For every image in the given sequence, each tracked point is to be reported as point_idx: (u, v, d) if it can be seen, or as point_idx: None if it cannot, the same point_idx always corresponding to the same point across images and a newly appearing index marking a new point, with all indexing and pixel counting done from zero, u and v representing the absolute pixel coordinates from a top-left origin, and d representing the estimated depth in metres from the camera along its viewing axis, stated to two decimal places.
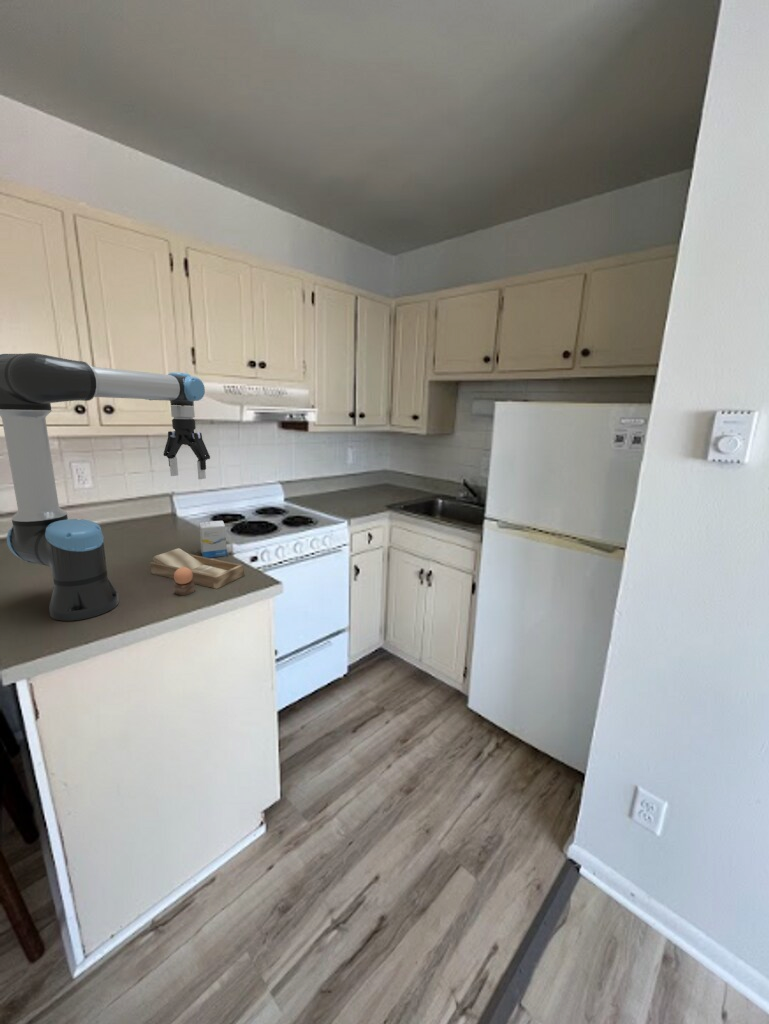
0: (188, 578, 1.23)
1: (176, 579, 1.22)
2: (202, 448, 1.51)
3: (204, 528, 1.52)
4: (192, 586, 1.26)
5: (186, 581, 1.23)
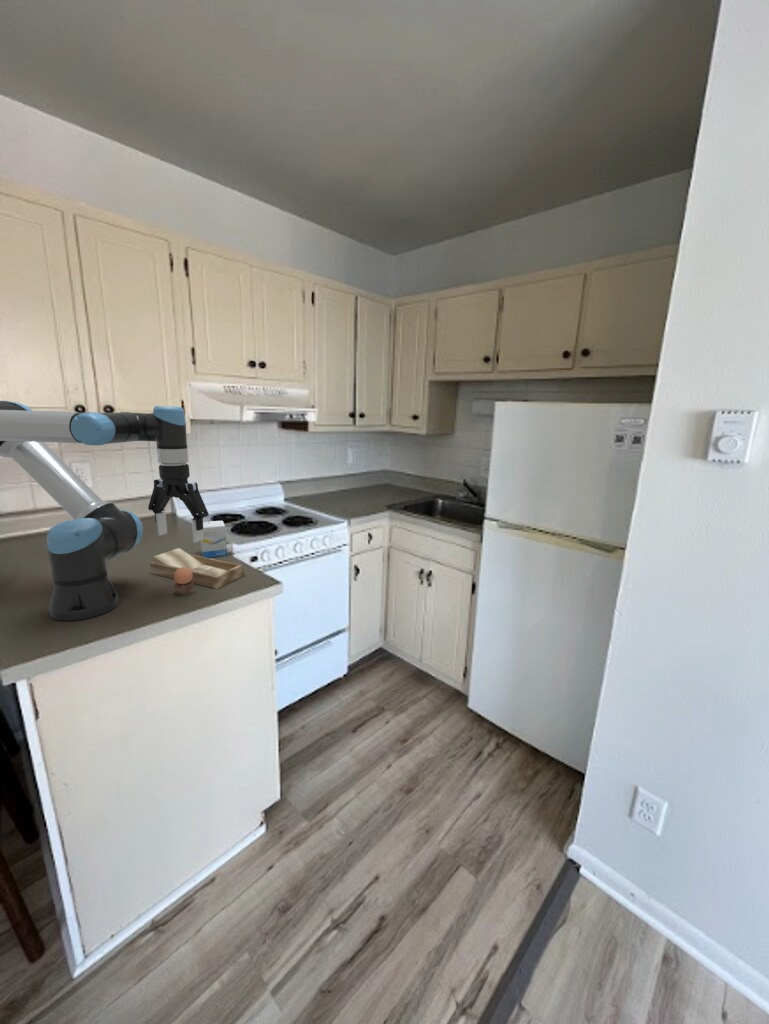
0: (188, 578, 1.23)
1: (176, 579, 1.22)
2: (198, 503, 1.16)
3: (204, 528, 1.52)
4: (192, 586, 1.26)
5: (186, 581, 1.23)
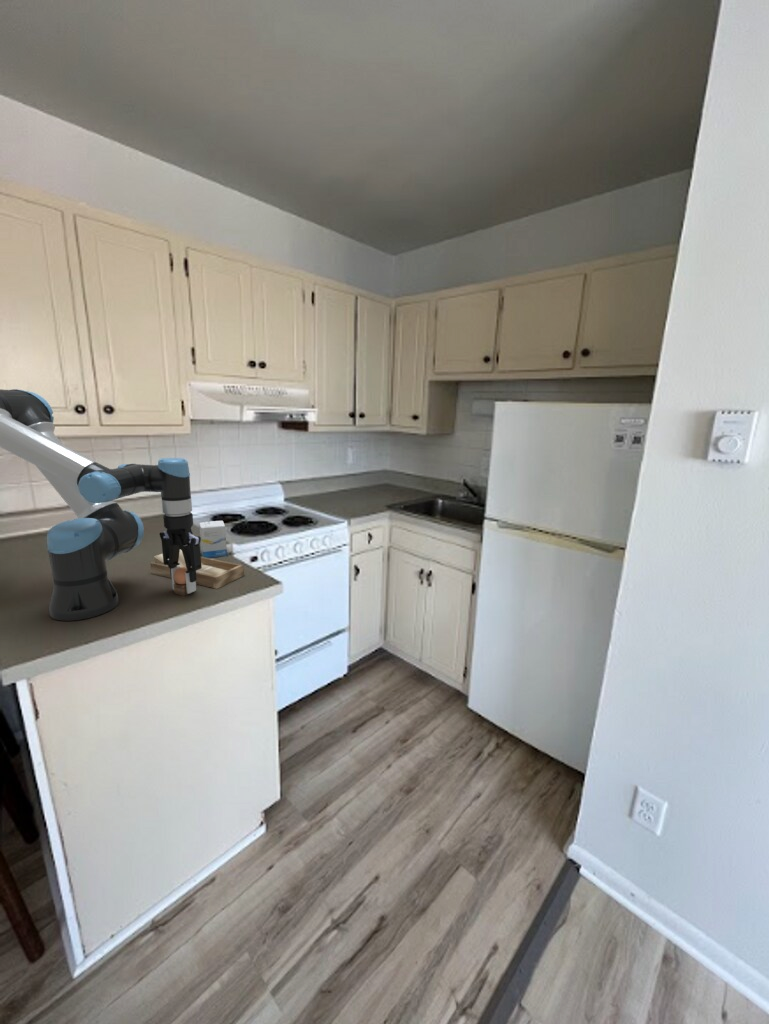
0: None
1: (176, 579, 1.22)
2: (195, 557, 1.20)
3: (204, 528, 1.52)
4: None
5: None
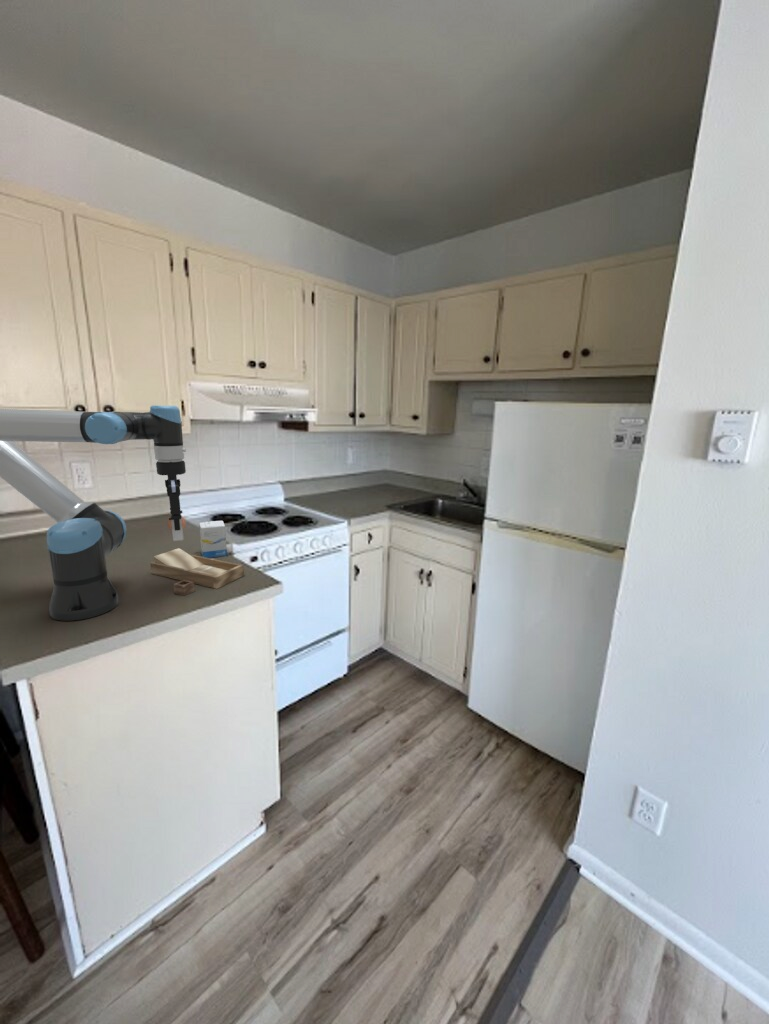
0: None
1: None
2: (173, 505, 1.20)
3: (204, 528, 1.52)
4: (192, 586, 1.26)
5: None
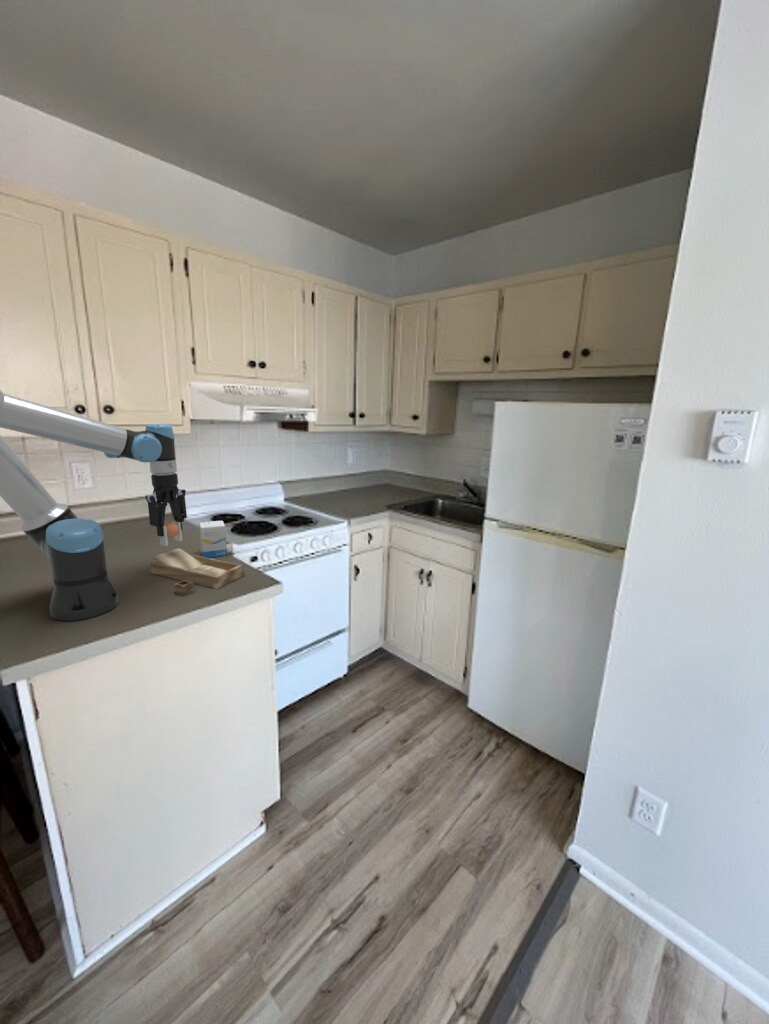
0: None
1: None
2: (150, 514, 1.34)
3: (204, 528, 1.52)
4: (192, 586, 1.26)
5: None
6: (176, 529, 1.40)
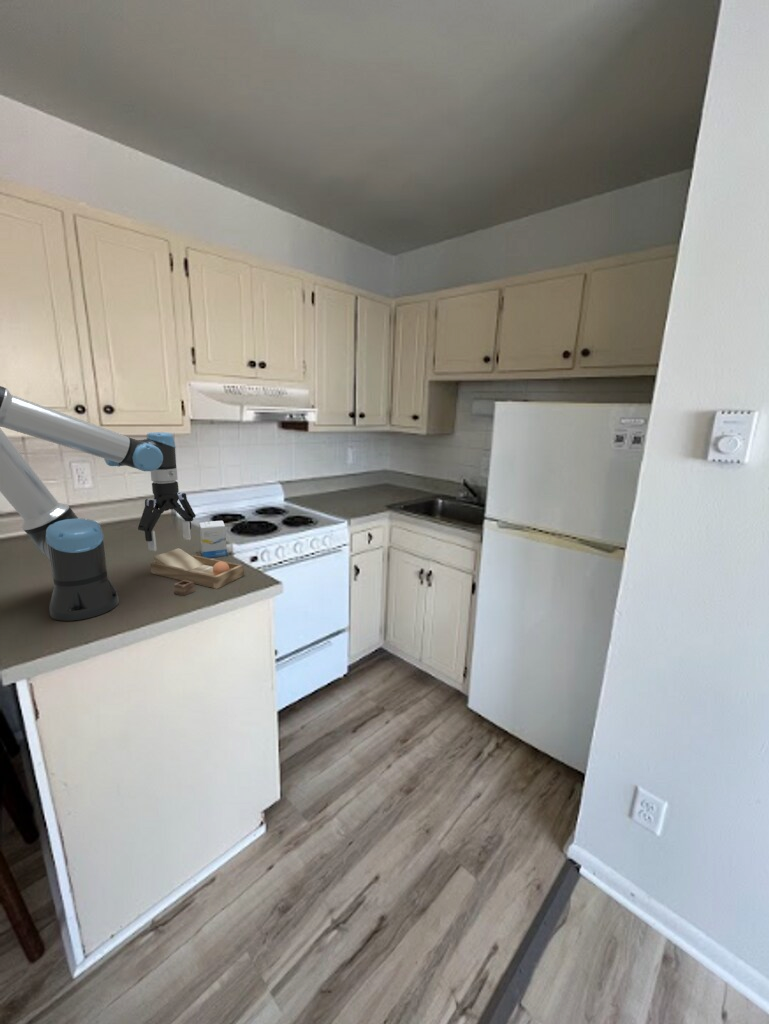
0: (215, 571, 1.32)
1: (226, 567, 1.34)
2: (142, 517, 1.32)
3: (204, 528, 1.52)
4: (192, 586, 1.26)
5: (217, 567, 1.32)
6: None
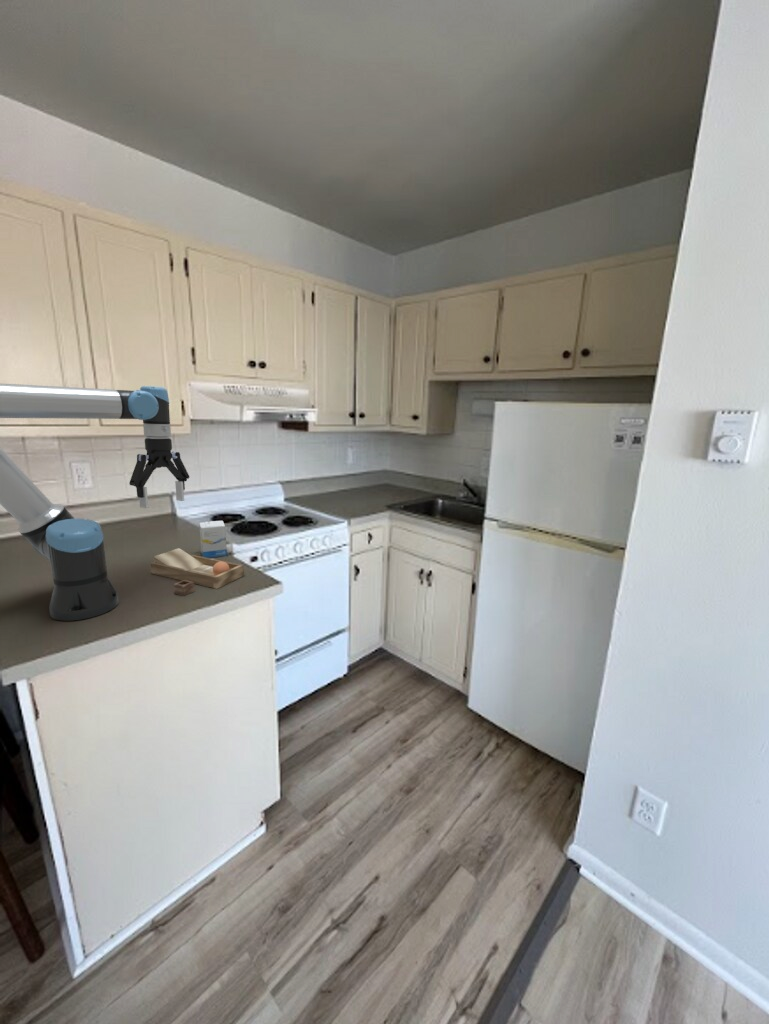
0: (215, 571, 1.32)
1: (226, 567, 1.34)
2: (134, 472, 1.29)
3: (204, 528, 1.52)
4: (192, 586, 1.26)
5: (217, 567, 1.32)
6: None
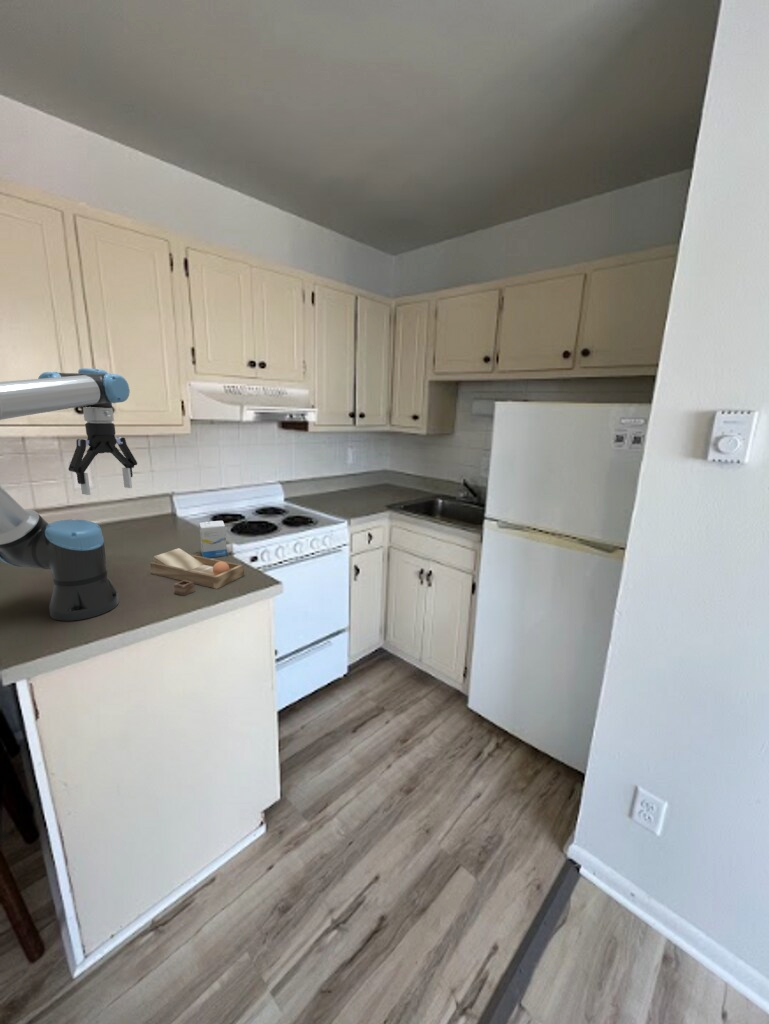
0: (215, 571, 1.32)
1: (226, 567, 1.34)
2: (73, 458, 1.25)
3: (204, 528, 1.52)
4: (192, 586, 1.26)
5: (217, 567, 1.32)
6: None
